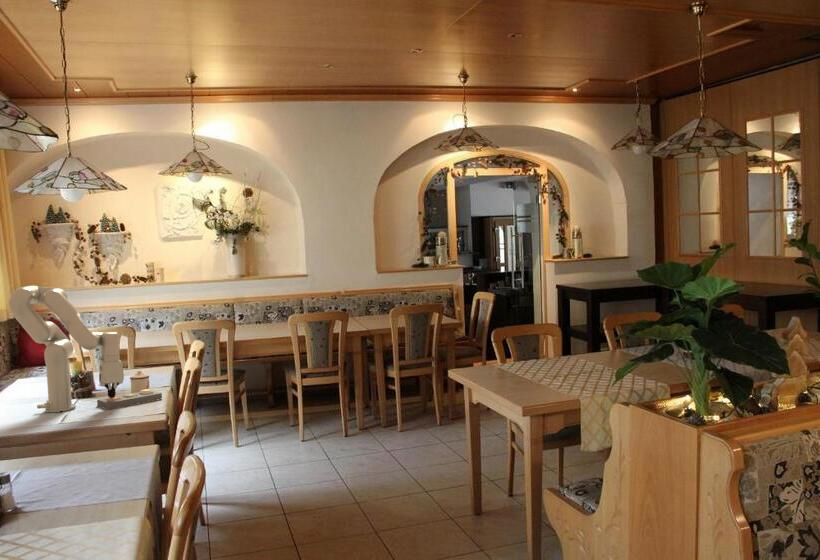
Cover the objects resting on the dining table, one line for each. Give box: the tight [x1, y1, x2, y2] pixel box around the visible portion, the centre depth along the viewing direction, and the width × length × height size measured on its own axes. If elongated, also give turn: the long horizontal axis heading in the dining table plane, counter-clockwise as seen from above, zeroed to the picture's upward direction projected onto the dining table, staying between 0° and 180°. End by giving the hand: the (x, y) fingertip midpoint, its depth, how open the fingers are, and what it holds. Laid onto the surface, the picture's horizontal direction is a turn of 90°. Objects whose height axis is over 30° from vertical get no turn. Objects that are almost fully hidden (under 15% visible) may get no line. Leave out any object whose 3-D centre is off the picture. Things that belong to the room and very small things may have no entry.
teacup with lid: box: [129, 370, 150, 394], centre depth 353 cm, size 12×9×12 cm
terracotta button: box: [107, 397, 119, 401], centre depth 326 cm, size 5×5×3 cm
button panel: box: [96, 389, 163, 411], centre depth 332 cm, size 26×12×3 cm, turn 137°
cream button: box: [140, 388, 152, 395], centre depth 338 cm, size 5×5×3 cm
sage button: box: [123, 393, 136, 398], centre depth 332 cm, size 5×5×3 cm
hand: (111, 397), depth 326 cm, fingers closed
